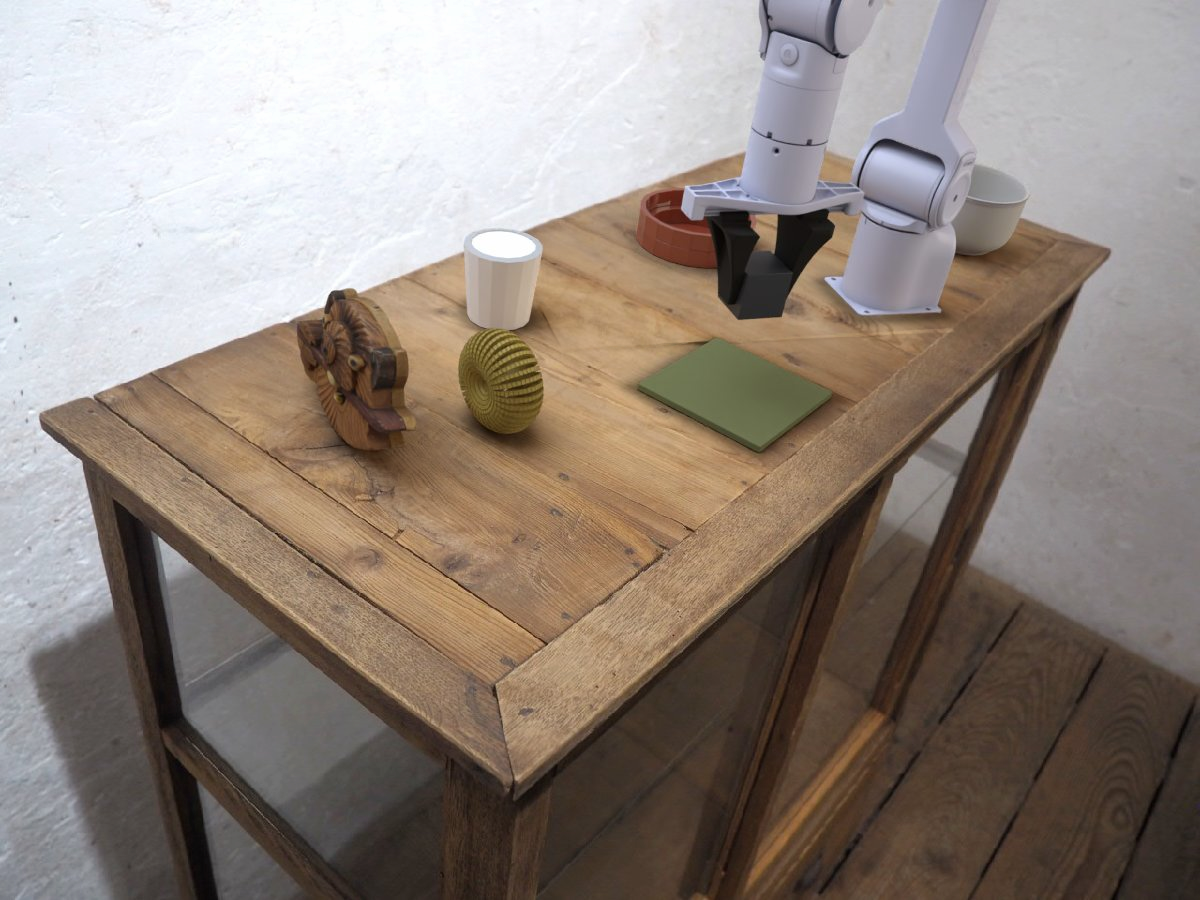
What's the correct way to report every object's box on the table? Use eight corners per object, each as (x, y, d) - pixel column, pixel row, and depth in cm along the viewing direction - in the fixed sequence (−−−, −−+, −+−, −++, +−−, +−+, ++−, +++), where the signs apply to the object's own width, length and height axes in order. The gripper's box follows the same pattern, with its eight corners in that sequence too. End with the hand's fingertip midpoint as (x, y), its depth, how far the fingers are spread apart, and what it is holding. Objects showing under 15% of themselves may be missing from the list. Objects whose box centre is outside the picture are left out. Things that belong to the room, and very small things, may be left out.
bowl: (722, 221, 118) (728, 187, 116) (767, 270, 109) (775, 235, 107) (620, 223, 115) (624, 188, 112) (657, 274, 105) (664, 237, 103)
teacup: (1017, 245, 123) (1041, 180, 118) (992, 275, 115) (1018, 206, 110) (904, 209, 128) (923, 145, 124) (873, 235, 120) (893, 167, 116)
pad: (715, 342, 95) (716, 336, 95) (831, 397, 90) (833, 391, 89) (636, 389, 87) (637, 383, 87) (758, 453, 82) (760, 446, 81)
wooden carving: (276, 381, 82) (267, 264, 76) (330, 367, 84) (326, 253, 79) (378, 496, 72) (377, 372, 66) (436, 476, 74) (440, 355, 69)
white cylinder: (525, 340, 91) (532, 267, 87) (450, 324, 92) (453, 251, 88) (544, 305, 97) (551, 235, 93) (473, 291, 98) (477, 221, 94)
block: (760, 294, 88) (770, 250, 85) (782, 317, 85) (793, 272, 82) (717, 296, 86) (726, 252, 84) (737, 320, 83) (747, 274, 81)
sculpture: (446, 407, 82) (449, 316, 77) (488, 393, 84) (494, 304, 79) (506, 460, 77) (513, 367, 72) (549, 444, 79) (559, 352, 75)
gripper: (847, 114, 82) (806, 270, 90) (678, 112, 78) (651, 278, 85) (895, 146, 77) (848, 310, 85) (718, 147, 72) (685, 321, 80)
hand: (752, 297), depth 85 cm, fingers closed on block, 4 cm apart
